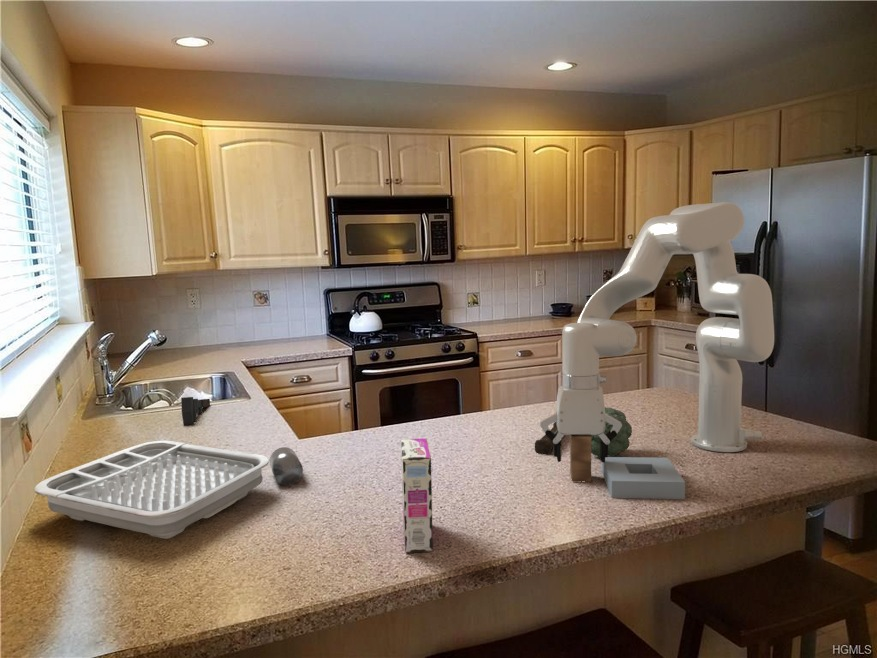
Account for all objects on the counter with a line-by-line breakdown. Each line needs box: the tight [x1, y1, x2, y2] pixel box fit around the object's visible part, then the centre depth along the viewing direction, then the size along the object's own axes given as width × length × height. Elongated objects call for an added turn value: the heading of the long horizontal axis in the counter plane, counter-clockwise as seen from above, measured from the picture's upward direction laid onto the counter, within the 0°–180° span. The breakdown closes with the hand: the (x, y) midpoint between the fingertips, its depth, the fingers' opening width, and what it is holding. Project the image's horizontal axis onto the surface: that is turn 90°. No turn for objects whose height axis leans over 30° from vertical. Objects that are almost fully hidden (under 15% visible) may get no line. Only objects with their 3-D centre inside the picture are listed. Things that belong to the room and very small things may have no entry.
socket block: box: [601, 456, 686, 500], centre depth 127 cm, size 14×14×4 cm
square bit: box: [569, 435, 592, 483], centre depth 131 cm, size 4×4×10 cm
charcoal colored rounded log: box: [534, 421, 566, 456], centre depth 156 cm, size 19×4×5 cm, turn 150°
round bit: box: [268, 446, 304, 486], centre depth 137 cm, size 6×6×8 cm
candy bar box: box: [400, 438, 434, 554], centre depth 106 cm, size 11×5×16 cm, turn 5°
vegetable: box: [591, 406, 633, 459], centre depth 148 cm, size 12×13×15 cm
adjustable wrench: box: [180, 396, 211, 427], centre depth 194 cm, size 8×3×25 cm
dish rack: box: [33, 440, 270, 540], centre depth 124 cm, size 32×37×8 cm
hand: (580, 459), depth 132 cm, fingers open, 8 cm apart
